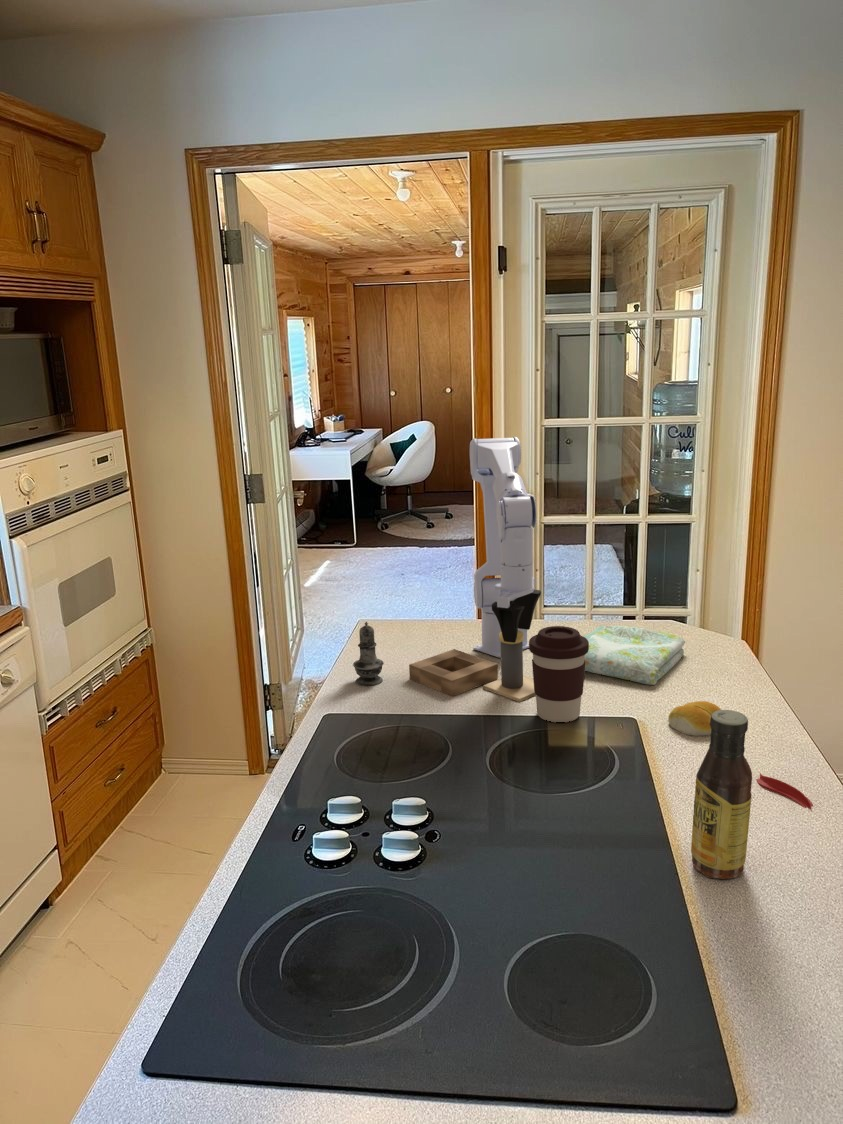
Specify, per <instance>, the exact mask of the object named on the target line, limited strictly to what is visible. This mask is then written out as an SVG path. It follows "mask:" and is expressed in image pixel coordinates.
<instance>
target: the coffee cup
mask: <svg viewBox="0 0 843 1124" xmlns="http://www.w3.org/2000/svg"><path fill="white" fill-rule="evenodd" d="M583 636H584V635H581V633H580V631H578V629H576V628H574V627H569V626H564V625H563V626H562V625H561V626H560V625H555V626H552V625H551V626H547V627H543V628H541V629H540V630H538V632H537V634H535V635H533V636H531V637H530V638H529V641H528V644H529V648H528V651H529V652H530V653H531V654H532V661H531V664H532V665H531V666H532V678H533V681H534V692H535V694H536V695H535V702H536V703H535V705H536V713H537V716H538V717H539V718H540V719H542V720H544V721H546V720H547V722H549V721H551V723H556V722H565V723H569V721H570V722H573V721H575V720H577V719H578V718H579V717H580V714H581V706H582V695H583V693H584V687H585V686H584V684H585V683H584V682H585V675H586V674H585V672H586V671H585V660H584V658H585V654H586V653H588V651H589V642H588V640H587V639H586V638H585V637H583Z"/></svg>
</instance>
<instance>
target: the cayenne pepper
mask: <svg viewBox="0 0 843 1124" xmlns="http://www.w3.org/2000/svg"><path fill="white" fill-rule="evenodd" d="M755 780H756V782H757V783H758V785H759V786H760V787H762V788H763V789H766V790H767V791H770V792H774V793H776V794H778V795H781V796H783V797H786V798H787V799H790V800H791V801H793V802H795V803H796V804H798V805H799V806H801V807H802V808H805V809H806V808H807V809H809V810H810V811H811V812H812V807H814V804H813V803H812V802H811V800H810V799H809V798H808V797H807V796H806V795H805V794H804V793H803V792H802V791H801V790H799V789H797V788H796V787H794V786H793V785H790V784H788V783H786V782H784V781H782V780H780V779H776V778H774V777H770V776H767V775H766V776H765V775H762V772H760V774H759V778H756V779H755Z"/></svg>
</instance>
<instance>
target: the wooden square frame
mask: <svg viewBox="0 0 843 1124" xmlns="http://www.w3.org/2000/svg"><path fill="white" fill-rule="evenodd" d="M498 665H499V663H497V662H493V661H491V660H488V659H485V658H482V657H478V656H476V655H473V654H470V653H467V652H464V651H461V650H458V649H456V648H454V649H451V650H447V651H445V652H441V653H439V654H436V655H432V656H431V657H427V658H424V659H421V660H418V661H416V662H413V663H410V664H408V667H409V670H408V671H409V674H408V675H409V680H411V681H413V682H416V683H418V684H421V685H423V686H426V687H428V688H431V689H433V690H435V691H436V690H437V691H439V692H440V693H441V692H442V693H443V694H446V695H449V696H451V697H454V696H456V695H458V694H461V693H464V692H467V691H469V690H471V689H472V690H473V689H475V688H478V687H480V686H483V685H486V684H488V683H491V682H494V681H496V680H499V670H498V669H499V666H498Z"/></svg>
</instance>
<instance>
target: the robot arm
mask: <svg viewBox="0 0 843 1124" xmlns="http://www.w3.org/2000/svg"><path fill="white" fill-rule="evenodd" d="M471 439H472V440H471V441H470V443H469V462H470V463H469V465H470V475H471V479H472V480H473V481H475V482H477V483H479V485H480V488H481V491H482V500H483V501H482V502H483V518H484V538H485V553H486V554H485V555H486V558H485V559H486V562H484V564H482V565H481V566H480V567H479V568H477V569H476V571H475V573H474V575H473V599H474V605H475V607H476V608H477V609H478V610H479V609H480V610H481V644H478V645H475V646H473V650H475V651H478V652H479V653H480V652H481V653H484V654H487V655H491V656H492V657H496V658H500V659H501V641H500V640H499V633H500V632H502V636H503V640H504V641H505V642H513V643H515V642H516V639H517V633H518V630H519V631H521V632H523V636H524V640H523V641H522V642H523V650H526V649H529V643H528V631H529V630H530V629H531V626H532V622H533V616H534V611H535V608H536V605H537V603H538V601H539V598H541V595H542V591H541V590H539V589H535V587H536V578H535V577H534V576H533V567H534V565H533V564H534V563H533V562H534V561H533V560H534V559H533V551H534V550H533V549H534V547H533V542H534V541H533V540H534V538H533V536H534V535H533V534H534V531H533V528H535V527H536V526H537V525H536V523H537V518H538V517H537V514H538V513H537V512H538V511H537V504H536V499H535V496H534V495H533V494H531V493H528V492H527V488H526V486H525V483H524V481H523V478H522V477H521V476H520V475H519V474H518V471H519V468H520V465H521V461H522V446H521V445H522V444H521V442H520V439H519V438H518V437H517V436H513V437H497V438H493V437H492V438H475V437H473V438H471ZM492 576H494V577H492ZM495 576H500V577H495ZM486 577H490V578H486Z"/></svg>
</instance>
